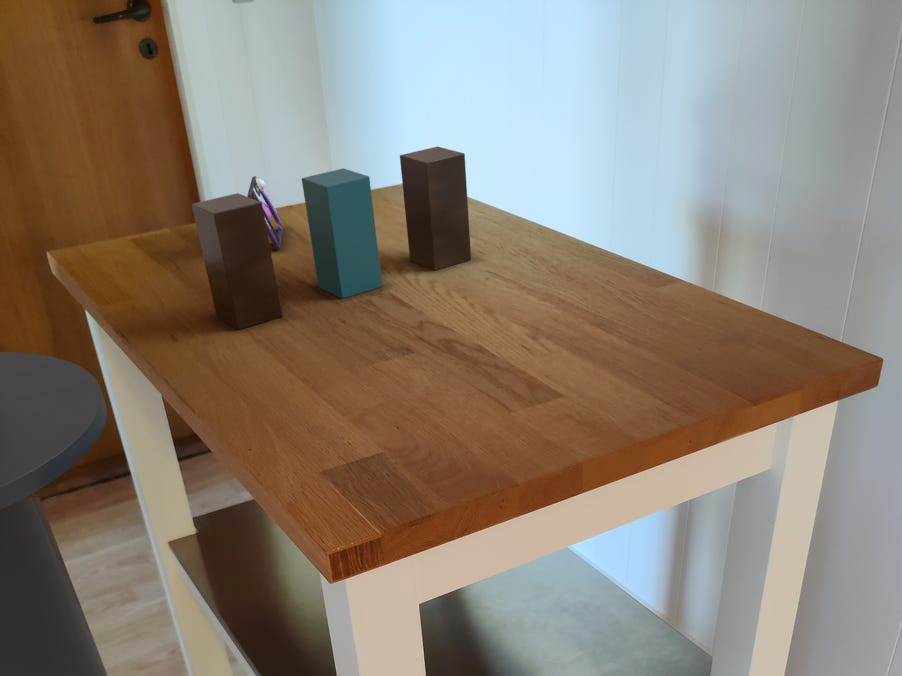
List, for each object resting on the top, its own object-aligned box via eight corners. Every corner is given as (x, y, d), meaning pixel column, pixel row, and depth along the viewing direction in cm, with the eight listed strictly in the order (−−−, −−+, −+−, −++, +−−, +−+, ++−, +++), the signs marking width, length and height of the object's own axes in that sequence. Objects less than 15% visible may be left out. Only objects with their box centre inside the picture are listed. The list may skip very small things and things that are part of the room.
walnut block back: (434, 270, 109) (425, 162, 102) (409, 260, 112) (399, 155, 105) (471, 259, 111) (464, 153, 104) (445, 250, 114) (437, 146, 107)
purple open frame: (255, 191, 114) (260, 172, 121) (215, 211, 114) (223, 191, 121) (285, 246, 118) (288, 225, 125) (246, 265, 118) (251, 243, 125)
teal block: (342, 298, 104) (326, 186, 97) (318, 287, 107) (301, 178, 100) (382, 286, 106) (369, 176, 99) (357, 275, 109) (343, 168, 102)
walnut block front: (238, 330, 98) (213, 213, 91) (216, 317, 101) (191, 203, 95) (282, 316, 100) (262, 202, 94) (260, 304, 104) (238, 192, 97)
